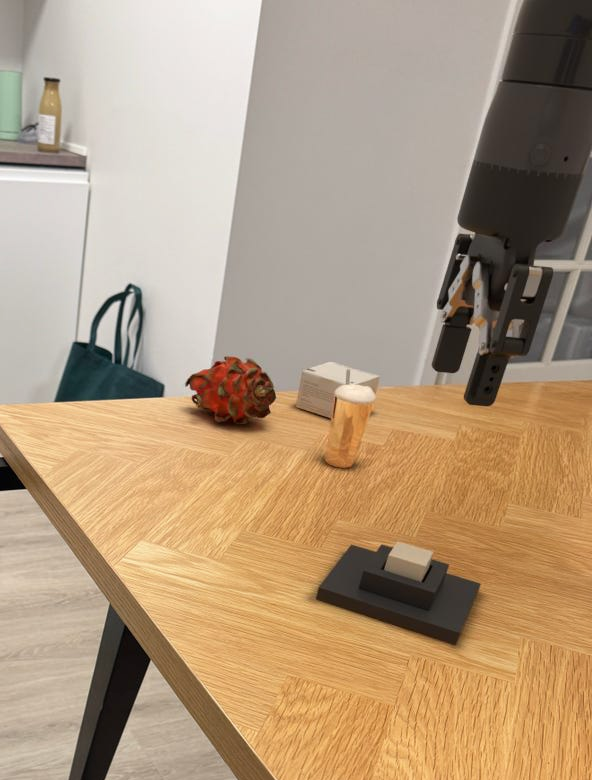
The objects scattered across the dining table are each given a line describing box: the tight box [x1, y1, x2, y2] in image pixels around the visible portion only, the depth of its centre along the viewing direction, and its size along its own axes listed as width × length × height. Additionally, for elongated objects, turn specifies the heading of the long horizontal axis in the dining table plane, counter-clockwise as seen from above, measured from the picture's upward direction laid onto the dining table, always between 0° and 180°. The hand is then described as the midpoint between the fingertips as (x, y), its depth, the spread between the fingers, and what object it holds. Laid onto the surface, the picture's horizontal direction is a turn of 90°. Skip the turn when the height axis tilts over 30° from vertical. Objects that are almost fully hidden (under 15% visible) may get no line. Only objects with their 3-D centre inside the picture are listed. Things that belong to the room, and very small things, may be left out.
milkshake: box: [324, 369, 377, 469], centre depth 102 cm, size 4×5×10 cm
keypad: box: [315, 544, 482, 646], centre depth 78 cm, size 12×10×3 cm
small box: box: [295, 361, 381, 419], centre depth 119 cm, size 8×8×5 cm
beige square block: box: [384, 541, 434, 582], centre depth 77 cm, size 3×3×2 cm
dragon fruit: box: [183, 355, 277, 425], centre depth 112 cm, size 8×8×12 cm
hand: (459, 386), depth 72 cm, fingers open, 8 cm apart
